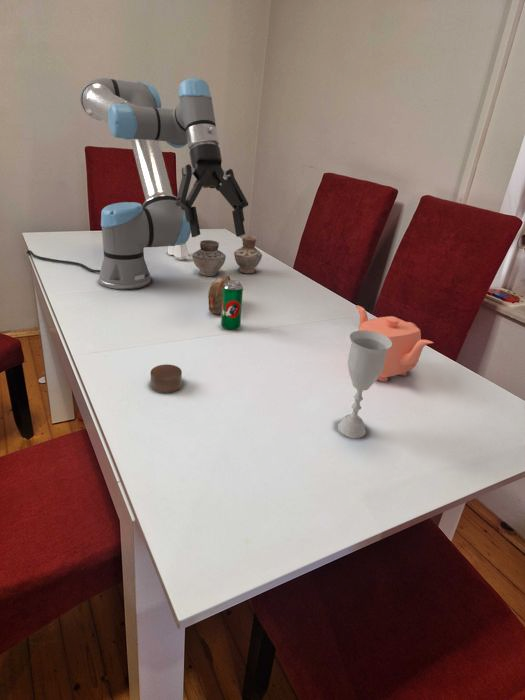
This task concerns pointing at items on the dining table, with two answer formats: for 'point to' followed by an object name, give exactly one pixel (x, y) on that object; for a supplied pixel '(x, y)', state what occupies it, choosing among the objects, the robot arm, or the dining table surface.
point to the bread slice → (216, 294)
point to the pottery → (214, 259)
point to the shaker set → (178, 251)
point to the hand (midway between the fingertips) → (219, 235)
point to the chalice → (363, 374)
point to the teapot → (396, 342)
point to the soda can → (231, 304)
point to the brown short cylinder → (166, 378)
